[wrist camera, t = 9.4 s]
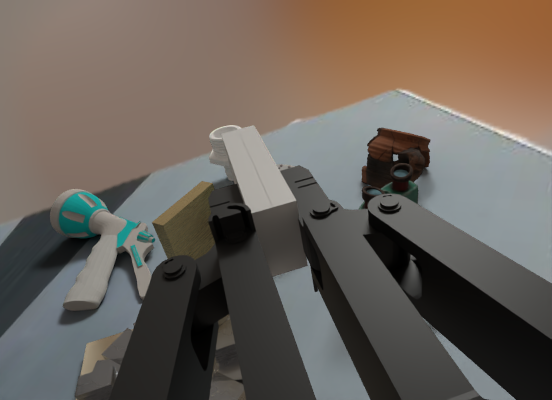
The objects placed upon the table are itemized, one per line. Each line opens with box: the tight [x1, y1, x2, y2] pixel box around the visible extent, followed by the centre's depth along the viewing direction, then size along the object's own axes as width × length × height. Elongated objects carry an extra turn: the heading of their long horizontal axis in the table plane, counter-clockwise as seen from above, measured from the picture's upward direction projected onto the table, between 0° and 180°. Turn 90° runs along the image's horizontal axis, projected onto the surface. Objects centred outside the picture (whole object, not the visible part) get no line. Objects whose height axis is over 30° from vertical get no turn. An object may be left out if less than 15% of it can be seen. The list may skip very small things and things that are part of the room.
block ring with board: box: [75, 181, 246, 400], centre depth 32 cm, size 18×14×14 cm
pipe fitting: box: [209, 125, 241, 181], centre depth 64 cm, size 6×7×8 cm
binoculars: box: [359, 163, 418, 209], centre depth 40 cm, size 9×11×10 cm
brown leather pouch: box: [362, 128, 430, 189], centre depth 56 cm, size 12×10×8 cm
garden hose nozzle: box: [50, 189, 155, 311], centre depth 53 cm, size 7×18×20 cm
